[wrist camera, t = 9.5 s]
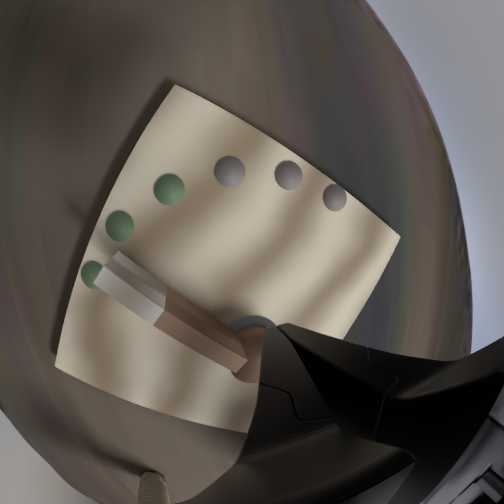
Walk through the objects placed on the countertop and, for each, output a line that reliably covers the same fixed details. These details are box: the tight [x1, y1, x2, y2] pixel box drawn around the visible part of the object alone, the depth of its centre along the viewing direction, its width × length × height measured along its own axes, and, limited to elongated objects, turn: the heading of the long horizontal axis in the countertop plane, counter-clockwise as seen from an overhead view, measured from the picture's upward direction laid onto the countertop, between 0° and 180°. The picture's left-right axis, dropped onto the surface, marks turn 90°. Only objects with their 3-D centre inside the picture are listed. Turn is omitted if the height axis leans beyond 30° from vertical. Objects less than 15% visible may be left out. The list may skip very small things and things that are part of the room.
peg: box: [94, 251, 265, 383], centre depth 17 cm, size 14×4×4 cm, turn 50°
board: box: [55, 84, 400, 433], centre depth 20 cm, size 22×24×1 cm
